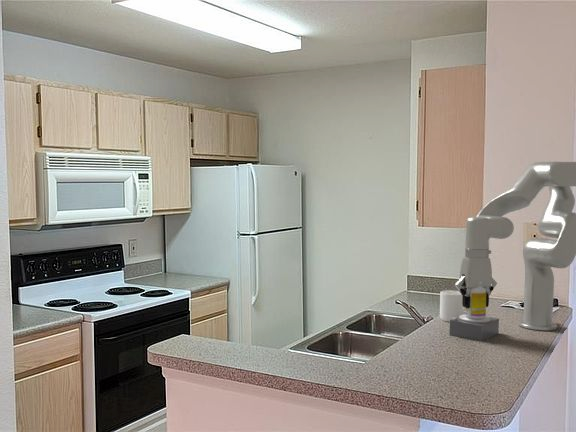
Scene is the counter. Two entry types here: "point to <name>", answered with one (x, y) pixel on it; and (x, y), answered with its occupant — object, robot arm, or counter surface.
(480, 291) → the supplement bottle
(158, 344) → the counter surface
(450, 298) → the mug
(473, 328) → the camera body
